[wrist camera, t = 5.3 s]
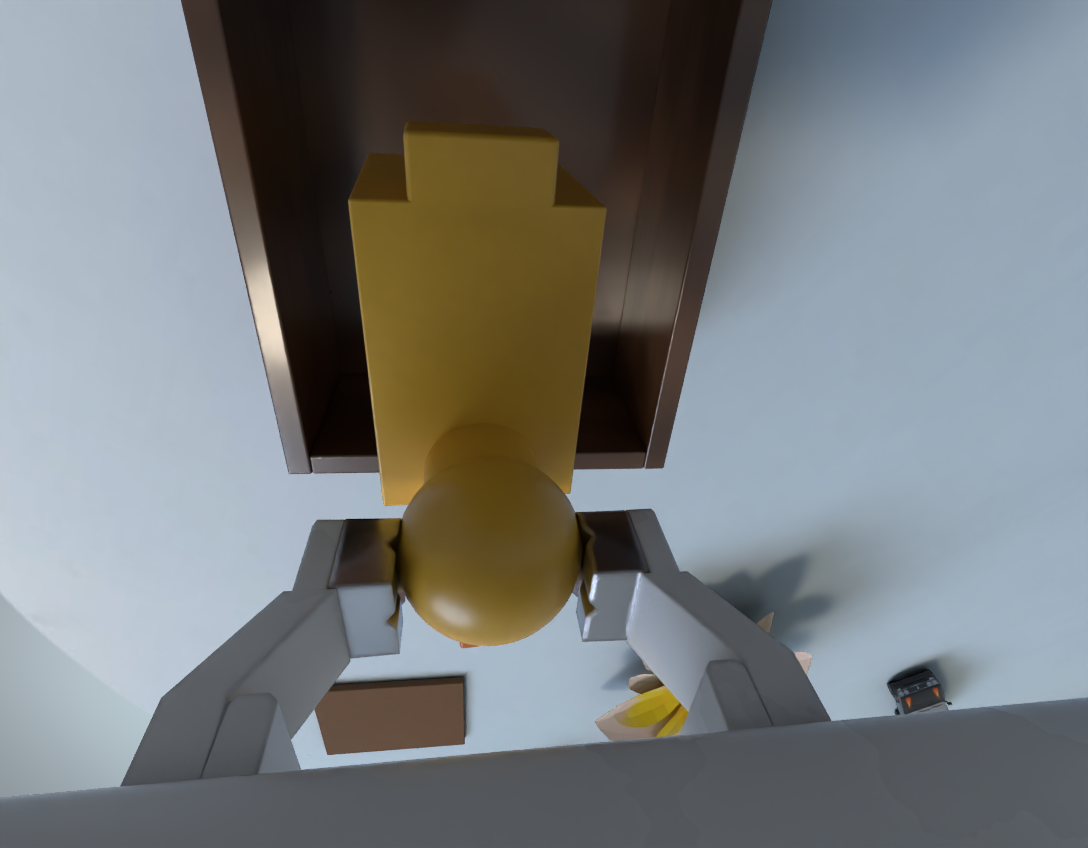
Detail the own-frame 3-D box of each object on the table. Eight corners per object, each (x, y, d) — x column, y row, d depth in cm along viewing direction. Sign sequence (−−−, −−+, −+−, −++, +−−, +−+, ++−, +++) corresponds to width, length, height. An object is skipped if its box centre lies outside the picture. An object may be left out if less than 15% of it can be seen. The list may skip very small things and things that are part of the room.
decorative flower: (665, 576, 32) (765, 761, 25) (797, 569, 38) (910, 722, 31) (566, 703, 41) (621, 869, 34) (686, 683, 46) (755, 823, 39)
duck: (362, 99, 12) (287, 182, 5) (562, 112, 12) (723, 198, 6) (397, 461, 17) (381, 734, 10) (535, 454, 18) (604, 703, 11)
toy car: (929, 661, 45) (1009, 766, 38) (941, 725, 51) (1011, 825, 44) (881, 678, 45) (952, 785, 39) (899, 740, 52) (961, 840, 45)
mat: (328, 748, 42) (327, 755, 41) (311, 685, 37) (309, 693, 37) (464, 738, 43) (464, 744, 43) (463, 676, 39) (463, 683, 38)
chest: (623, 381, 27) (664, 469, 21) (328, 379, 25) (288, 475, 20) (692, -34, 19) (789, -70, 13) (254, -81, 17) (145, -146, 11)
